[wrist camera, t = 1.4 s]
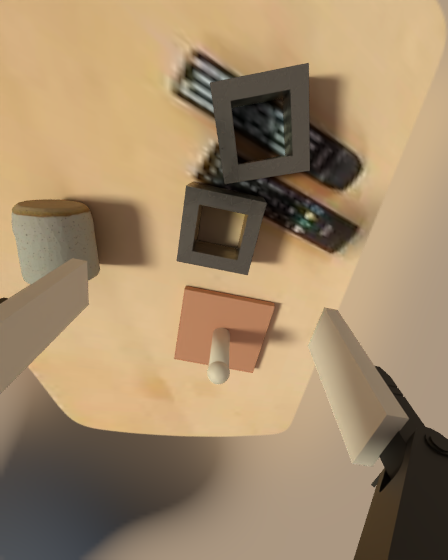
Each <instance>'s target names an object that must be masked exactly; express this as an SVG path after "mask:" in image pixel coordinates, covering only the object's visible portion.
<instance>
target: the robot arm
mask: <svg viewBox="0 0 448 560" xmlns="http://www.w3.org/2000/svg"><path fill="white" fill-rule="evenodd" d="M88 305H89V300H88V270H87V261H85V260H80V259H75V258H72V259H70V260H69V261H67V262H66V263H64V264H63V265H61V266H59V267H58V268H56V269H55V270H53V271H51V272H50V273H48V274H47V275H45V276H43V277H42V278H40V279H39V280H37V281H36V282H34V283H32V284H31V285H29V286H28V287H26V288H24V289H23V290H21V291H20V292H18V293H16V294H15V295H13V296H12V297H10V298H9V299H8V298H1V299H0V394H1V393H2V392H3V391H4V390H5V389H6V388H7V387H8V386H9V385H10V384H11V383H12V382H13V381H14V380H15V379H16V378H17V377H18V376H19V375H20V374H21V373H22V371H24V370H25V369H26V368H27V367H28V366H29V365H30V364H31V363H32V361H33V360H34V359H35V358H36V357H37V356H38V355H39V354H40V353H41V352H42V351H43V350H44V349H45V348H46V347H47V346H48V345H49V344H50V343H51V342H52V341H53V340H54V339H55V338H56V337H57V336H58V335H59V334H60V333H61V332H62V331H63V330H64V329H65V328H66V327H67V326H68V325H69V324H70V323H71V322H72V321H73V320H74V319H75V318H76V317H77V316H78V315H79V314H80V313H81V312H82V311H83V310H84V309H85V308H86V307H87V306H88ZM308 348H309V350H310V353H311V356H312V358H313V361H314V364H315V366H316V369H317V371H318V374H319V377H320V379H321V382H322V385H323V387H324V390H325V392H326V395H327V398H328V400H329V403H330V405H331V408H332V411H333V414H334V416H335V419H336V421H337V424H338V427H339V429H340V432H341V435H342V437H343V440H344V443H345V445H346V448H347V451H348V453H349V456H350V458H351V461H352V463H353V464H359V465H364V466H373V465H374V464H375V462H376V461H377V459H378V458H379V457H380V458H381V461H382V463H383V465H384V467H385V468H384V469H383V471H382V472H381V473H380V474H379V476H378V477H377V478H376V479H375V481H374V482H373V483H372V484H371V485H372V486H373V487H375V486H376V485H377V486H376V489H375V493H374V496H373V499H372V502H371V506H370V509H369V512H368V515H367V518H366V522H365V525H364V528H363V531H362V534H361V537H360V541H359V544H358V547H357V550H356V554H355V557H354V560H448V439H446V438H445V437H444V436H443V435H441V434H440V433H438V432H436V431H434V430H432V429H431V428H427V427H425V426H424V424H423V423H422V421H421V420H420V418H419V417H418V416H417V414H416V413H415V411H414V410H413V409H412V407H411V406H410V404H409V403H408V401H407V400H406V398H405V397H403V394H402V393H401V391H400V390H399V389H398V388H397V386H396V384H395V383H394V381H393V380H392V378H391V377H390V376H389V375H388V374H387V373H386V372H385V371H384V370H383V369H381V368H380V367H377V366H374V365H373V363H372V362H371V360H370V359H369V357H368V356H367V354H366V353H365V351H364V350H363V348H362V347H361V345H360V343H359V342H358V340H357V339H356V337H355V336H354V335H353V333H352V331H351V330H350V328H349V327H348V325H347V324H346V322H345V321H344V319H343V318H342V316H341V315H340V313H339V312H338V310H334V309H329V308H324V309H323V312H322V314H321V316H320V319H319V321H318V323H317V326H316V328H315V330H314V333H313V335H312V337H311V339H310V342H309V344H308Z"/></svg>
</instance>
